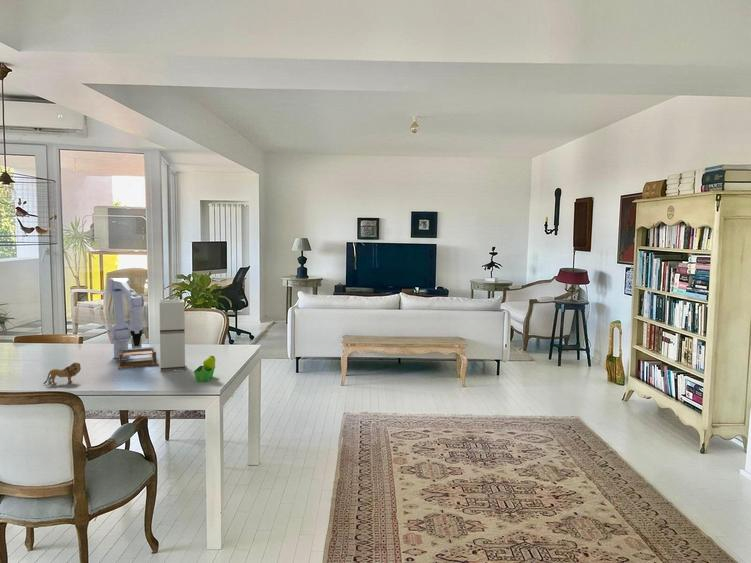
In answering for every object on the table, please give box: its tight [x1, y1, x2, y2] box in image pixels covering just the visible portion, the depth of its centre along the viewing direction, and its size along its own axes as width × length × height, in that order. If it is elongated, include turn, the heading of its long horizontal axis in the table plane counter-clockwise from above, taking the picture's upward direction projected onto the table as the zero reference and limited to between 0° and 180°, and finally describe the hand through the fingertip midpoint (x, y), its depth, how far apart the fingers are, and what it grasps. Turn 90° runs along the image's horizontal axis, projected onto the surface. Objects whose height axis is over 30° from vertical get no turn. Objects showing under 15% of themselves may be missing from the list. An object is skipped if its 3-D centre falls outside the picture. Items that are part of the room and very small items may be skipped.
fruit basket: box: [193, 355, 216, 382], centre depth 237 cm, size 11×9×11 cm
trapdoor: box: [123, 346, 153, 358], centre depth 263 cm, size 10×14×3 cm
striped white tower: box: [159, 299, 186, 372], centre depth 253 cm, size 11×11×35 cm
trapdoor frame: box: [116, 346, 160, 370], centre depth 263 cm, size 18×19×6 cm
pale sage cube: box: [130, 337, 143, 349], centre depth 260 cm, size 4×4×5 cm
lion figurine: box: [42, 362, 82, 385], centre depth 226 cm, size 15×5×9 cm, turn 117°
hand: (136, 344), depth 260 cm, fingers closed on pale sage cube, 4 cm apart
